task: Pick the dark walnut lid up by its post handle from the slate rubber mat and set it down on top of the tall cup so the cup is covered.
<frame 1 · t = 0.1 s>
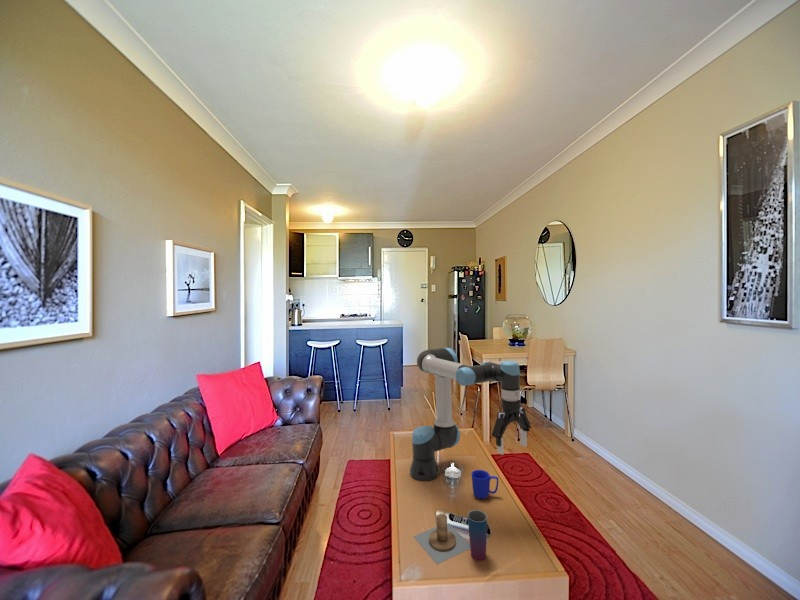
hand: (512, 449, 142), 28 cm above the table, fingers open, 13 cm apart
mug: (485, 496, 157), on the table
lid: (442, 541, 128), point 1 cm above the table, touching mat
cup: (478, 558, 120), on the table
mat: (442, 544, 128), on the table
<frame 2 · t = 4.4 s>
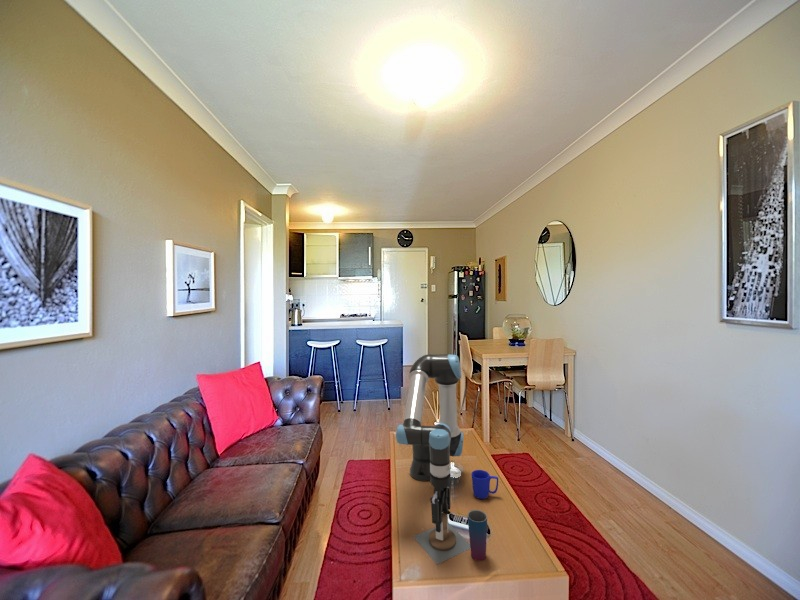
hand: (442, 534, 128), 3 cm above the table, fingers closed on lid, 4 cm apart
lid: (442, 540, 128), point 1 cm above the table, touching gripper
everything else where it was.
when the fingers open (19 cm above the table, at t = 8.4 s): lid drops 2 cm, resting on cup.
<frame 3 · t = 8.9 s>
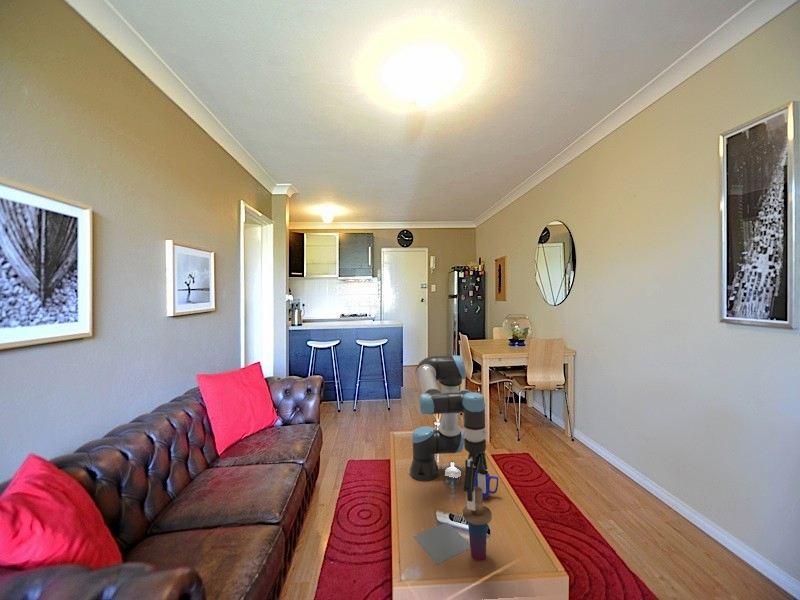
hand: (476, 500, 120), 20 cm above the table, fingers open, 11 cm apart
lid: (477, 515, 120), point 15 cm above the table, touching cup
cup: (478, 558, 120), on the table, touching lid
everything else where it was.
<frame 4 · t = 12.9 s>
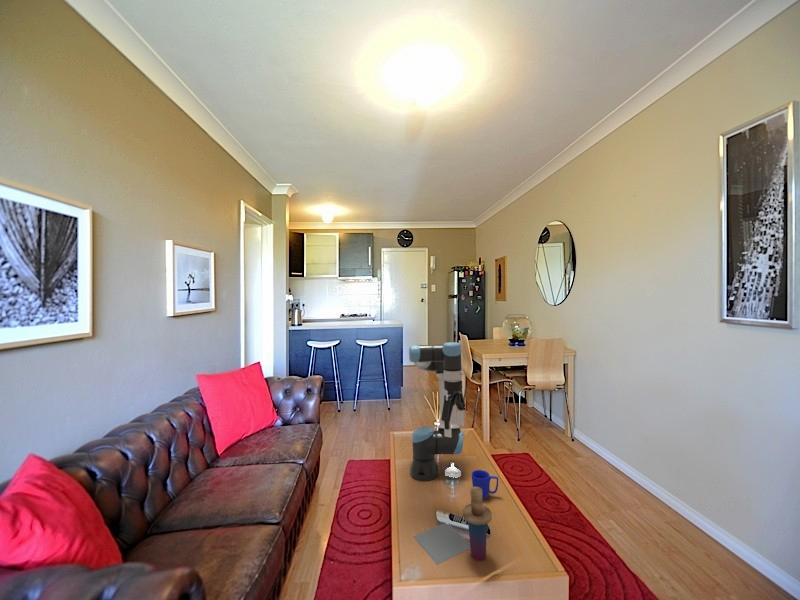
hand: (454, 430, 142), 37 cm above the table, fingers open, 13 cm apart
nothing on the table moved.
at the end: lid 0.0 cm from the cup (horizontally); lid point 15.0 cm above the table; cup tilted 0° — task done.
